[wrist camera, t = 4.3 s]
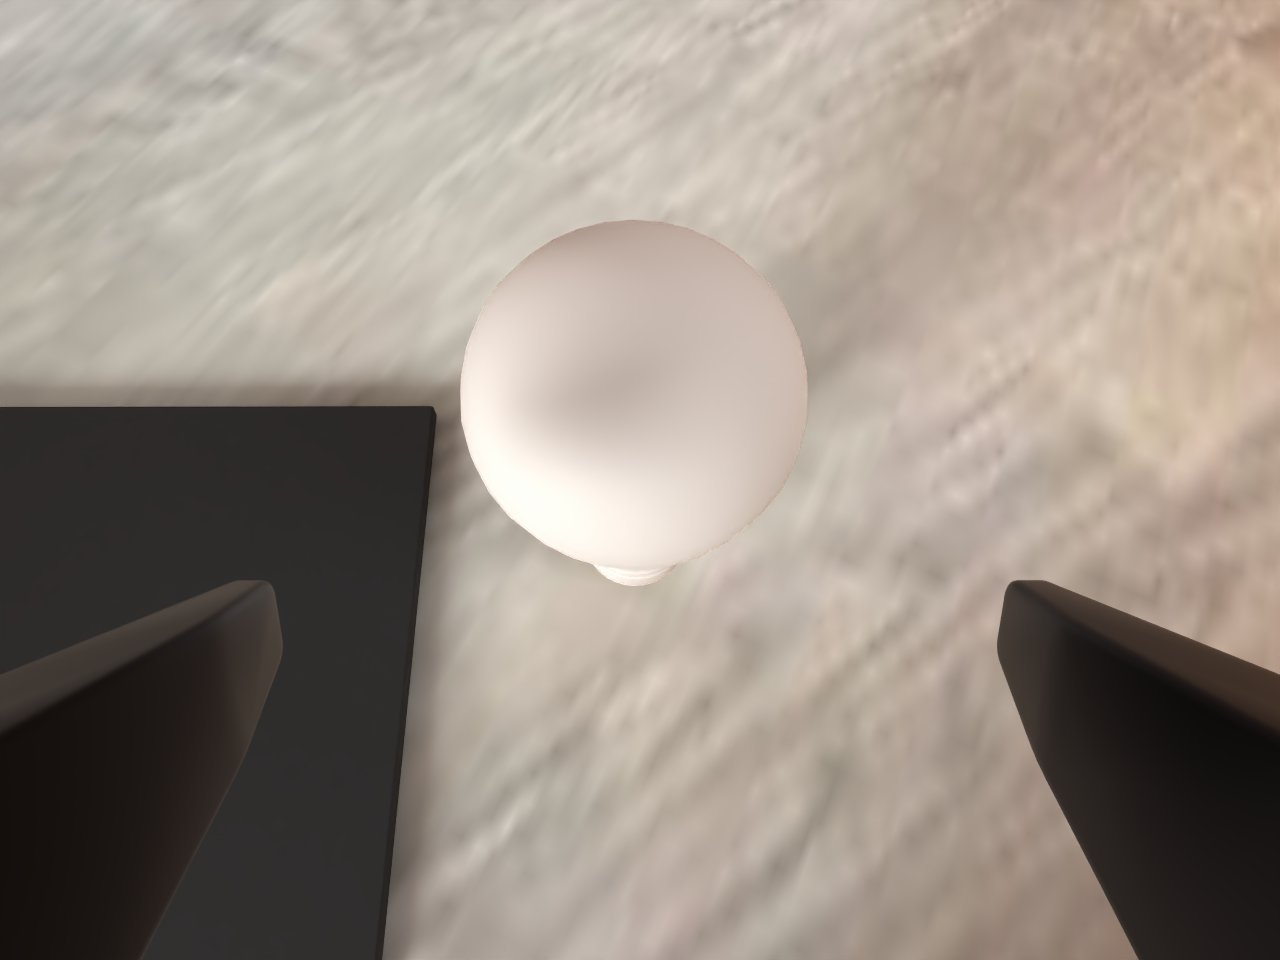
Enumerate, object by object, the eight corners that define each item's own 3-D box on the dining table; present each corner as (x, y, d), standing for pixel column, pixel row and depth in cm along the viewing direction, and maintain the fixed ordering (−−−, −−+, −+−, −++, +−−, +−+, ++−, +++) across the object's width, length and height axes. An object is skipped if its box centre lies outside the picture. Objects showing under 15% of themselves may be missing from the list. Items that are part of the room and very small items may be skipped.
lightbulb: (664, 404, 25) (681, 84, 15) (801, 578, 23) (928, 341, 13) (472, 520, 24) (353, 251, 14) (601, 716, 22) (571, 569, 12)
